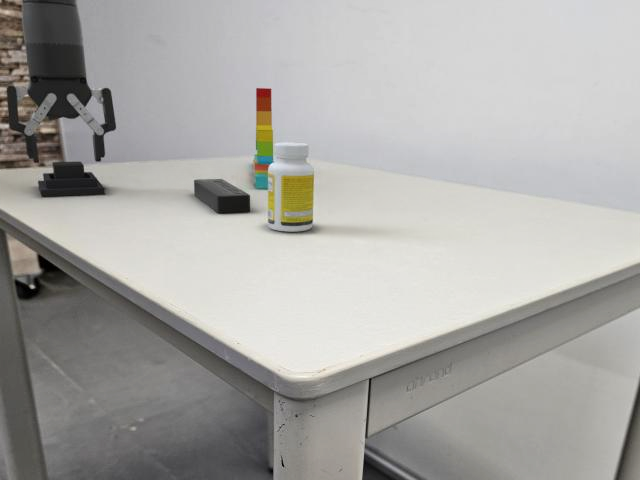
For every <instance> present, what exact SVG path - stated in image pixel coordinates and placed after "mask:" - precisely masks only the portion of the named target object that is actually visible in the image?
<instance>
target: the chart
mask: <svg viewBox="0 0 640 480" xmlns="http://www.w3.org/2000/svg"><path fill="white" fill-rule="evenodd" d="M255 101H256V102H255V114H256V115H255V150H256V154H253V160H252V164H253V165H252V167H253V169H252V170H253V185H254V186H255V189H261V190H262V189H264V190H268V167H269V165H270V164H271V163H273V162H274V130H273V120H272V117H273V116H272V115H273V112H272V109H273V108H272V88H269V87H268V88H266V87H265V88H264V87H256V89H255Z"/></svg>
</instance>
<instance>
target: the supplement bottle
mask: <svg viewBox="0 0 640 480" xmlns="http://www.w3.org/2000/svg"><path fill="white" fill-rule="evenodd" d="M309 155H310V154H309V144H308V143H304V142H302V143H301V142H289V141H288V142H287V141H286V142H275V143H273V157H275V161H273V163H271V164H270V165H269V167H268V189H267V225H268V227H269V229H271V230H273V231H278V232H287V233H288V232H290V233H291V232H293V233H297V232H305V231H308V230H310V229H312V228H313V224H314V188H315V187H314V185H315V181H314V180H315V170H314V167H313V165H312V164H310V162H307V159H308V158H309Z"/></svg>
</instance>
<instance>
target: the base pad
mask: <svg viewBox="0 0 640 480" xmlns="http://www.w3.org/2000/svg"><path fill="white" fill-rule="evenodd" d="M84 174H85V178H75V179H54V172H44V173H42V177H43V180H38V181H37V185H38V189H39V192H40V196H41V198H47V197H48V198H49V197H50V198H52V197H70V196H71V197H73V196H96V195H97V196H98V195H105V194H106V192H105V187H104V185H103V184H102V183H101V182H100V181H99V180H98V178H97V177H96V176H95V175H94V173H93V172H92V171H84Z"/></svg>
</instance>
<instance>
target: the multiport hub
mask: <svg viewBox="0 0 640 480" xmlns="http://www.w3.org/2000/svg"><path fill="white" fill-rule="evenodd" d="M193 188H194V189H193V191H194V192H193V193H194V194H193V195H194V197H196V198H197V199H198V200H200V201H201V202H202V203H204V204H205V205H206V206H208V207H209V208H210V209H211V210H213V211H214V212H216V213H217V214H219V215H225V214H244V213H245V214H247V213H251V195H250V194H249V193H247V192H246V191H244V190H242V189H241V188H239V187H237V186H235V185H233V184H232V183H230V182H228V181H227V180H224V179H222V178H204V179H203V178H202V179H200V178H199V179H193Z"/></svg>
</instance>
